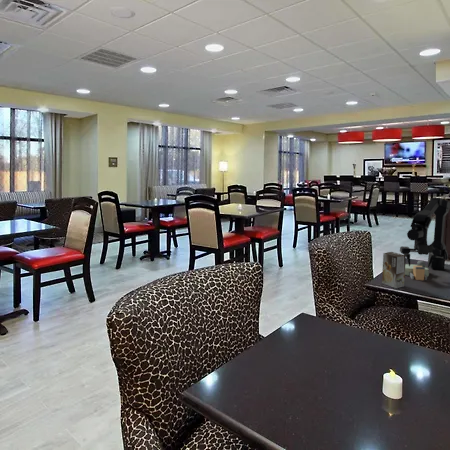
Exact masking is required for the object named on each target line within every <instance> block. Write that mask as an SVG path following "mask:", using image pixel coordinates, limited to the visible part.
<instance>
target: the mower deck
mask: <svg viewBox="0 0 450 450" xmlns="http://www.w3.org/2000/svg"><path fill="white" fill-rule="evenodd" d="M416 263H417V264H411V263H410V266H409V265H408V263H405V276H409V277H410V279H411V280H415V278H414V275H413V265H414V266H422V267H424V268H425V273H424V281H427V280H428V277H429V275H430V269H429V267H428V266H426V263H427V262H426V261H424V260H418V261H417V262H416Z"/></svg>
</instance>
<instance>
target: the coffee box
mask: <svg viewBox="0 0 450 450" xmlns="http://www.w3.org/2000/svg"><path fill="white" fill-rule="evenodd" d="M406 261H407V258H406V255H404V254H402V253H397V252H395V251H387V252H383V253H382V277H381V284H383V285H385V286H388V287H391V288H394V289H398V288H403V287H405V279H406V278H405V276H406V275H405V264H406Z"/></svg>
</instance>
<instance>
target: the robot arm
mask: <svg viewBox="0 0 450 450" xmlns="http://www.w3.org/2000/svg"><path fill="white" fill-rule="evenodd" d="M449 212H450V201H449V200H448V199H447V200H445V199H443V198H441V197H430V200H429V202H428V203H427V204H426V206H425V207H424V208H423V209H422V210H420V211H418V212H417V213H415V215H414V216H413V217H412V221H411V224H410V228H411V229H409V230H408V231H407V232H406V235H407V238H408V239H409V240H410V241H414V245H413V248H412V247H411V248H410V247H409V246H400V247H399V253H400V254H402V255H406V261H407V264H408V265H409V266H410V264H411V254H410V253H417V254H418V255H420V256H421V255H425V256H427V255H428V259H427V268H431V269H432V270H434V271H435V270H436V271H446V269H445V266H446V264H445V263H446V261H447V260H449V254H448V251H447V245H446V244H445V242H444V237H445V236H444V233H445V225H446V224H445V222H446V216H447V214H449ZM433 214H434V215H435V220H434V221H435V222H434V231H433V241H432V242H431V243H430V244H428V232H429V231H428V230H429V227H430V224H431V223H432V215H433Z"/></svg>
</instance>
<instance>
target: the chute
mask: <svg viewBox="0 0 450 450" xmlns="http://www.w3.org/2000/svg"><path fill="white" fill-rule="evenodd" d="M414 265H415V264H413V275H414V280H415V281H425V279H424V273H425V268H424V267H422V266H414Z"/></svg>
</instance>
